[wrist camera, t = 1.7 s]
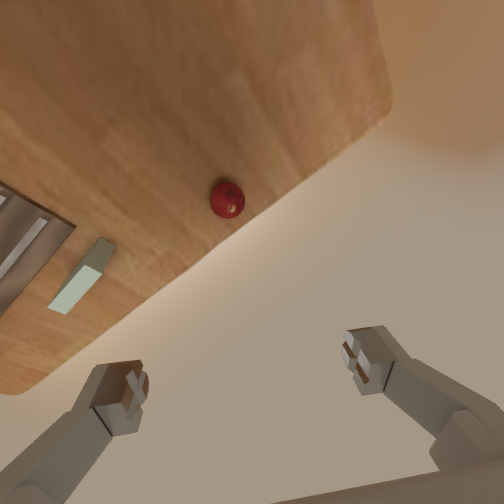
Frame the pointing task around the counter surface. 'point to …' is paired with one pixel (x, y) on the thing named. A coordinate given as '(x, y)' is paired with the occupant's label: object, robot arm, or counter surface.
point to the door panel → (82, 277)
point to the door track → (25, 241)
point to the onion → (227, 200)
